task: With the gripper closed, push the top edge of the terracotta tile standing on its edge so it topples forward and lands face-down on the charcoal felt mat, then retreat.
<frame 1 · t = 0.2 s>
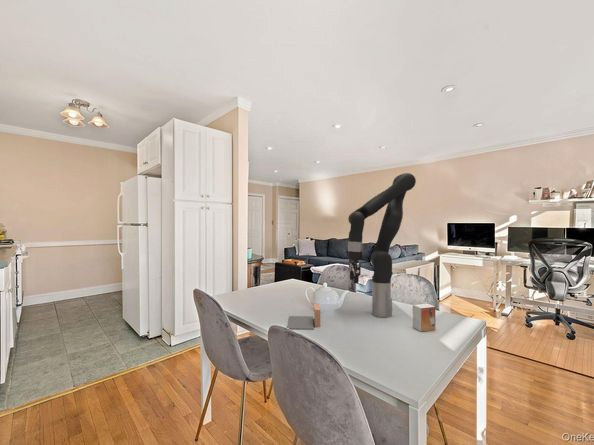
hand: (353, 281, 138), 18 cm above the table, tool pointing down, fingers open, 8 cm apart
tile: (317, 323, 128), on the table
felt mat: (300, 322, 128), on the table
small box: (424, 329, 120), on the table
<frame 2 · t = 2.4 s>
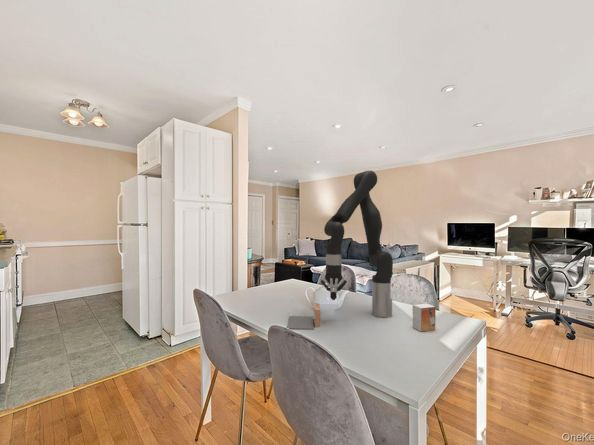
hand: (333, 299, 128), 11 cm above the table, tool pointing down, fingers closed
nothing on the table moved.
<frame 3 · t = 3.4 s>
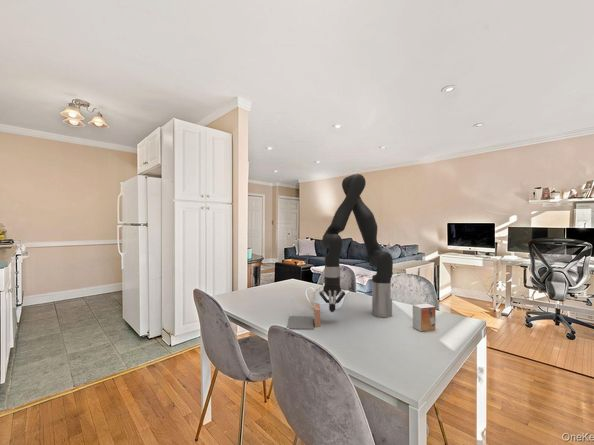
hand: (332, 311, 128), 6 cm above the table, tool pointing down, fingers closed
nothing on the table moved.
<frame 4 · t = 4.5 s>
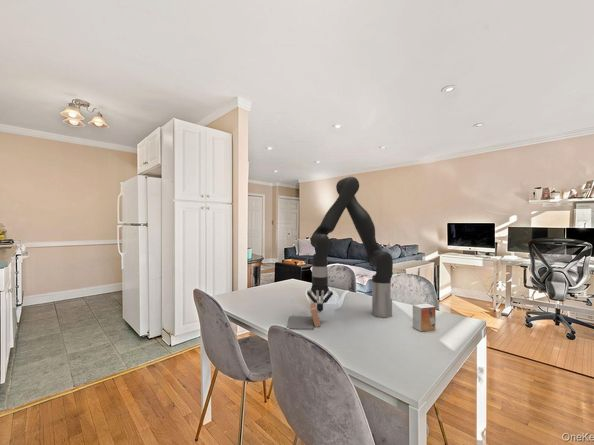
hand: (319, 311, 128), 6 cm above the table, tool pointing down, fingers closed
tile: (317, 322, 128), on the table, tilted 15°
everything else where it was.
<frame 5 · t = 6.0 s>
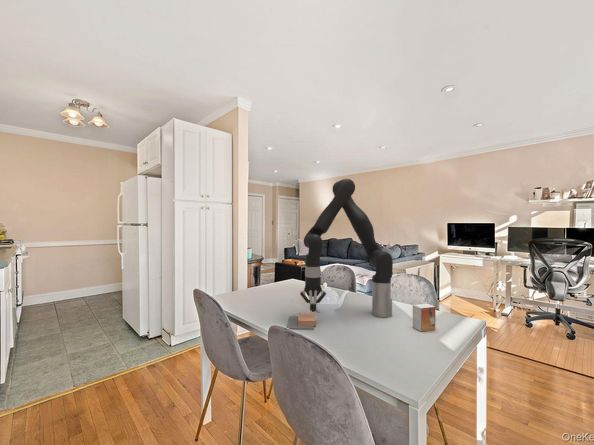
hand: (313, 311, 128), 6 cm above the table, tool pointing down, fingers closed
tile: (315, 319, 128), point 2 cm above the table, tilted 90°, touching felt mat
everything else where it was.
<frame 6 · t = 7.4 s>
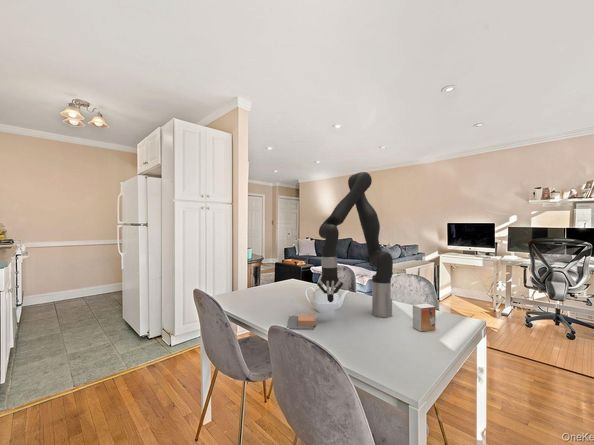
hand: (330, 301, 128), 10 cm above the table, tool pointing down, fingers closed
nothing on the table moved.
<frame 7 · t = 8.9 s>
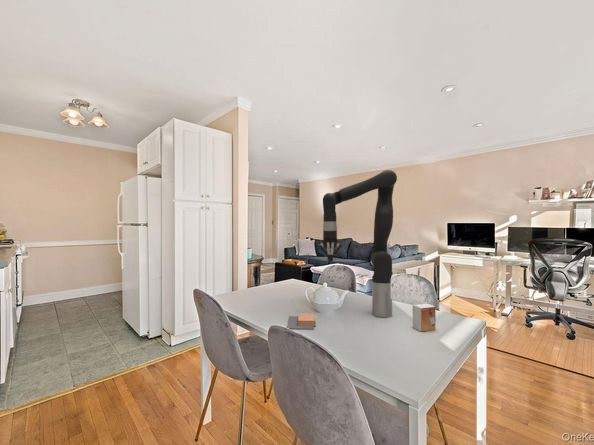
hand: (330, 261, 146), 27 cm above the table, tool pointing down, fingers closed
nothing on the table moved.
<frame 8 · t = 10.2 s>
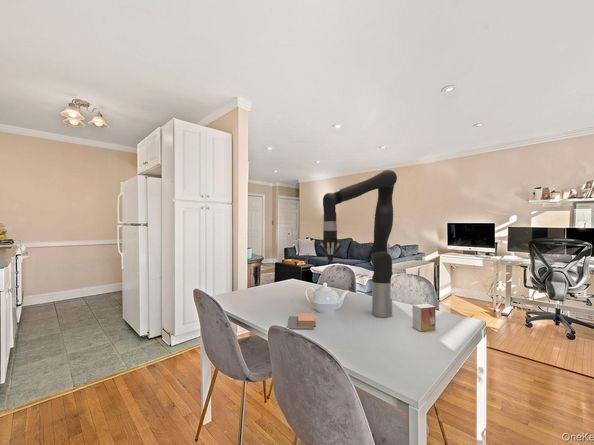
hand: (330, 261, 146), 27 cm above the table, tool pointing down, fingers closed
nothing on the table moved.
at the end: tile tilted 90°; tile inside the target area (7.4 cm from its centre), point 1.6 cm above the table; the gripper is holding nothing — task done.
